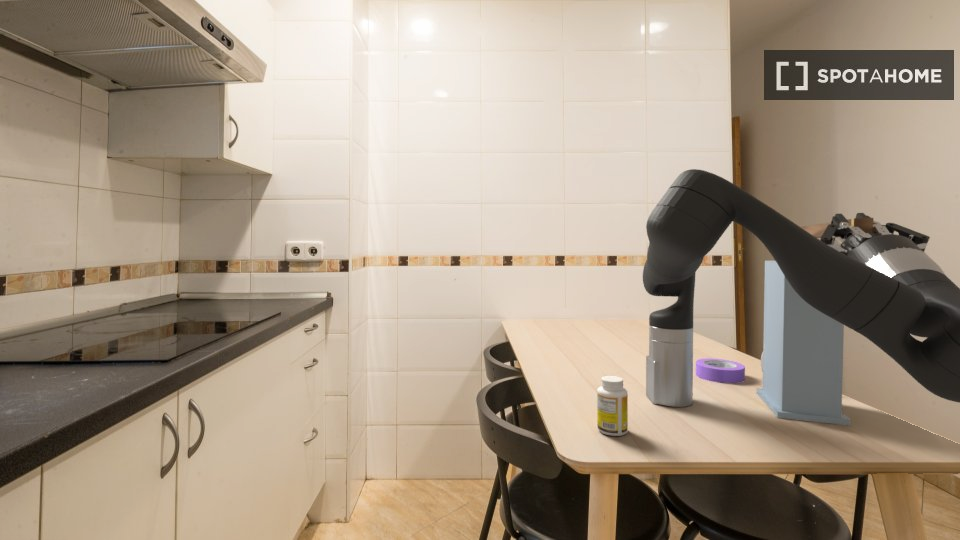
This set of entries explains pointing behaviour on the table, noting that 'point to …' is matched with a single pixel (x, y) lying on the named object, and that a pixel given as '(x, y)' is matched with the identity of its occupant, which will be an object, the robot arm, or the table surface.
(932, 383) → the robot arm
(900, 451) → the table surface
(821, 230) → the brown wooden bar
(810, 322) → the pale blue pedestal
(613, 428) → the supplement bottle
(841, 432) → the table surface
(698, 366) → the masking tape
